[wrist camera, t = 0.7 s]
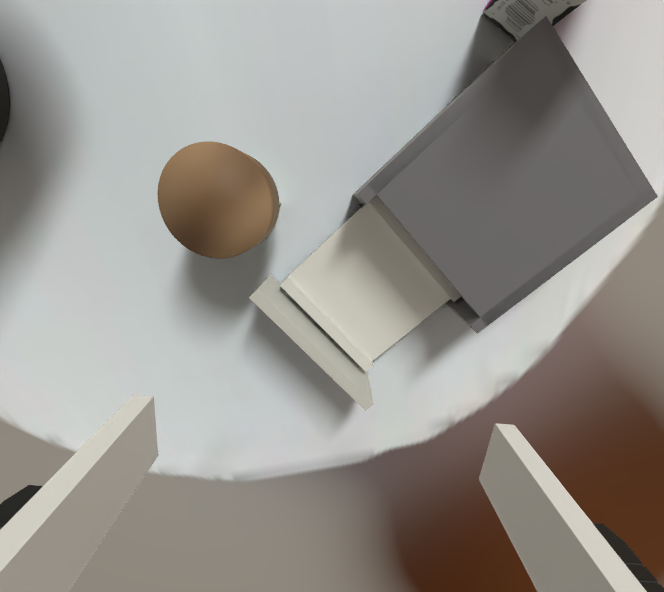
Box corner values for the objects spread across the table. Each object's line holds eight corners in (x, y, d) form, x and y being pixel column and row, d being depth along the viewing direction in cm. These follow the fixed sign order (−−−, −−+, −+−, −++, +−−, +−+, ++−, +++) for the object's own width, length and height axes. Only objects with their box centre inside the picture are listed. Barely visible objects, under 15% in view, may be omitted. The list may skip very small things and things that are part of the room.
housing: (494, 60, 28) (546, 15, 21) (587, 197, 31) (657, 196, 24) (352, 194, 31) (357, 193, 24) (449, 306, 34) (477, 333, 27)
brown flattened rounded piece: (163, 199, 27) (134, 199, 23) (227, 127, 26) (208, 114, 22) (234, 269, 29) (218, 279, 25) (299, 205, 27) (293, 206, 23)
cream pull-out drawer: (381, 168, 30) (393, 161, 24) (476, 284, 33) (506, 302, 27) (263, 280, 33) (248, 297, 27) (360, 376, 36) (365, 410, 30)
